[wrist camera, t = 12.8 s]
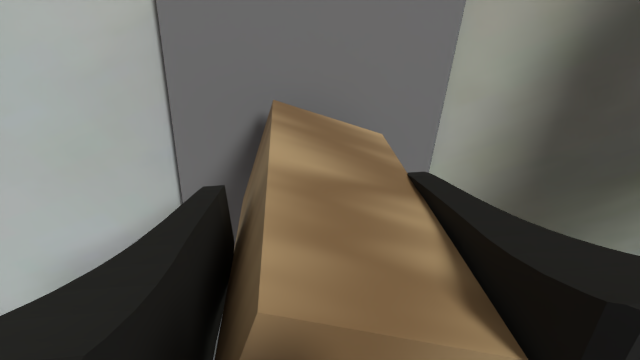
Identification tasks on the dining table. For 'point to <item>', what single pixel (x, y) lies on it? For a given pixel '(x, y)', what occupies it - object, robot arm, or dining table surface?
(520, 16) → the dining table surface
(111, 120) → the dining table surface
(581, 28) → the dining table surface
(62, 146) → the dining table surface
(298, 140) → the wood grain block
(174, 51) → the rest mat
